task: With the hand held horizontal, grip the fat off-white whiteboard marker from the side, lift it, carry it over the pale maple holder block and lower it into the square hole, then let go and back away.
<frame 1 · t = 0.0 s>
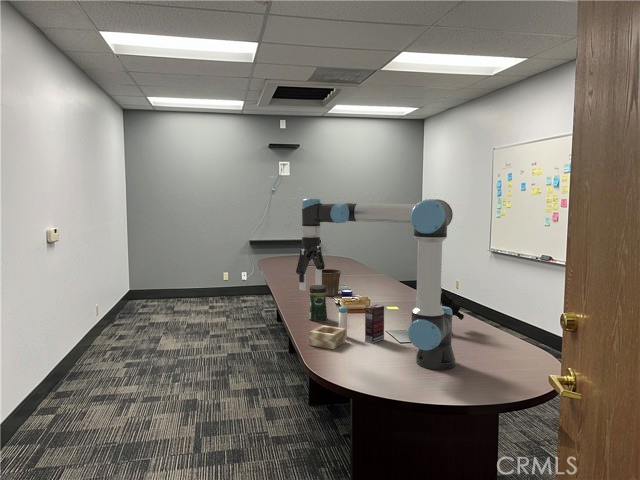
hand: (310, 287, 193), 28 cm above the table, tool pointing down, fingers open, 13 cm apart
sculpture: (442, 331, 229), on the table
plant pot: (328, 295, 312), on the table
supplement box: (374, 340, 213), on the table
holder: (327, 343, 209), on the table
marker: (342, 336, 219), on the table
coffee jar: (317, 319, 250), on the table
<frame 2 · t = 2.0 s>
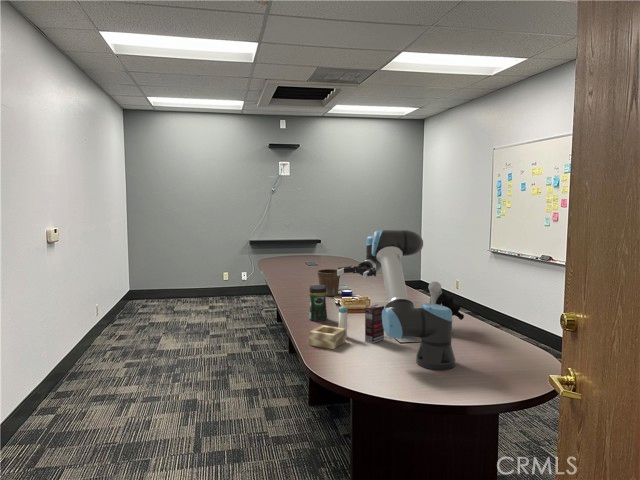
hand: (350, 274, 224), 28 cm above the table, tool horizontal, fingers open, 13 cm apart
nothing on the table moved.
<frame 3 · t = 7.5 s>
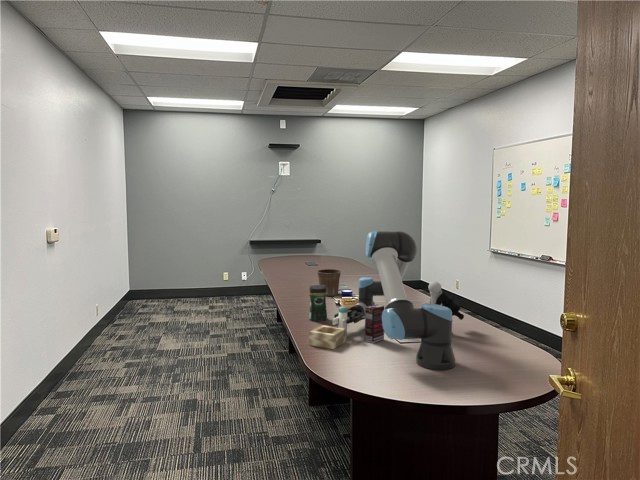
hand: (338, 322, 213), 8 cm above the table, tool horizontal, fingers closed on marker, 4 cm apart
marker: (342, 336, 219), on the table, touching gripper
everything else where it was.
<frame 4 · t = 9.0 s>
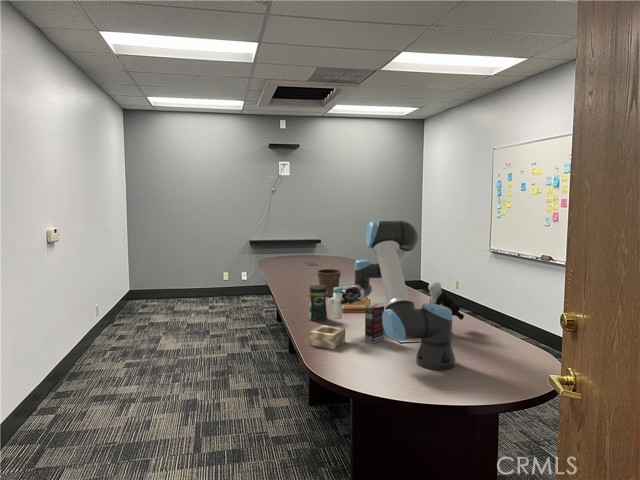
hand: (332, 303, 210), 18 cm above the table, tool horizontal, fingers closed on marker, 4 cm apart
marker: (337, 317, 215), point 10 cm above the table, touching gripper
everything else where it was.
when the fingers open (13 cm above the table, at t = 10.8 s): marker drops 5 cm, resting in holder.
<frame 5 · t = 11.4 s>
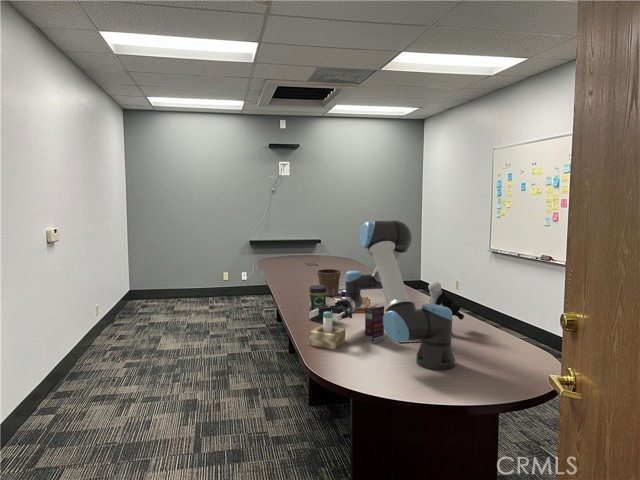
hand: (324, 316, 205), 13 cm above the table, tool horizontal, fingers open, 12 cm apart
marker: (327, 343, 209), resting in holder
everything else where it was.
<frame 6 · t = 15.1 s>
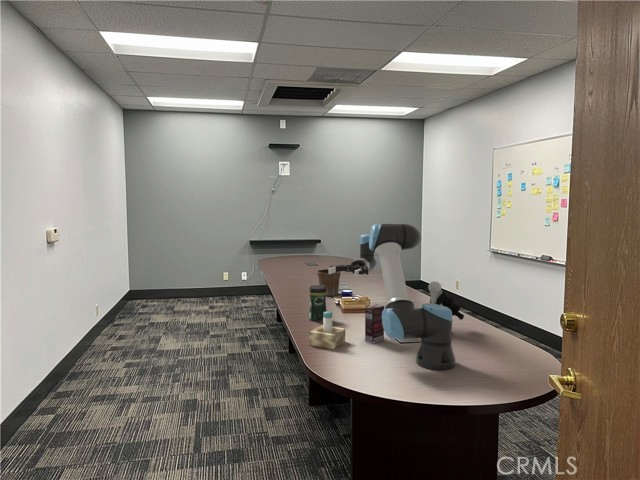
hand: (342, 272, 219), 30 cm above the table, tool horizontal, fingers open, 13 cm apart
nothing on the table moved.
at the end: marker inside the target area on the holder (0.1 cm from its centre), point 0.0 cm above the holder's base; marker tilted 0°; the gripper is holding nothing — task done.
